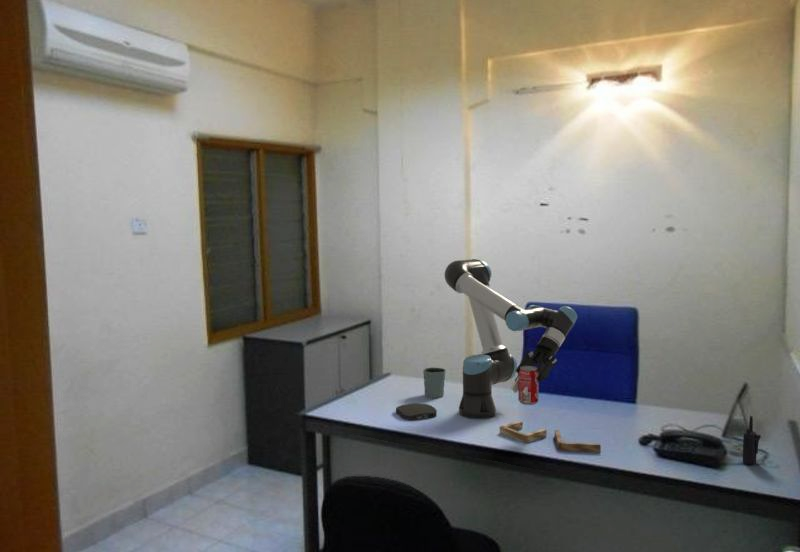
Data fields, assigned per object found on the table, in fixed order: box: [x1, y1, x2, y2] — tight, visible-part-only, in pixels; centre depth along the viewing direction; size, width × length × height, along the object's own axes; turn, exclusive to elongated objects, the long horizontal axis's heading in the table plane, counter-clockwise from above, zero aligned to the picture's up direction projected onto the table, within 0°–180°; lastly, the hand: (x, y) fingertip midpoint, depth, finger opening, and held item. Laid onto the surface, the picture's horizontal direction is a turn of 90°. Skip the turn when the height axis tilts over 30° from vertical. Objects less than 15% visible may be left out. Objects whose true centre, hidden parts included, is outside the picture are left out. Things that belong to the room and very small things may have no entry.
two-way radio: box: [742, 415, 762, 465], centre depth 192 cm, size 6×4×15 cm
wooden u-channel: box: [499, 420, 547, 444], centre depth 221 cm, size 11×13×2 cm
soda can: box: [518, 366, 540, 406], centre depth 220 cm, size 7×7×13 cm
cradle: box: [554, 429, 602, 453], centre depth 208 cm, size 10×20×2 cm, turn 36°
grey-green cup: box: [422, 367, 447, 399], centre depth 274 cm, size 10×10×12 cm
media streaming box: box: [395, 402, 438, 421], centre depth 247 cm, size 15×15×3 cm
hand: (519, 392), depth 218 cm, fingers closed on soda can, 5 cm apart
